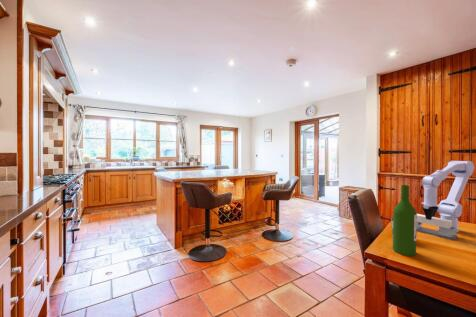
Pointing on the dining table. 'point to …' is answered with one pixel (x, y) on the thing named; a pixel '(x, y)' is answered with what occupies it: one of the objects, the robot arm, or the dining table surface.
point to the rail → (435, 221)
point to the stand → (441, 233)
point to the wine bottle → (404, 225)
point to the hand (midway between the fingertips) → (430, 218)
